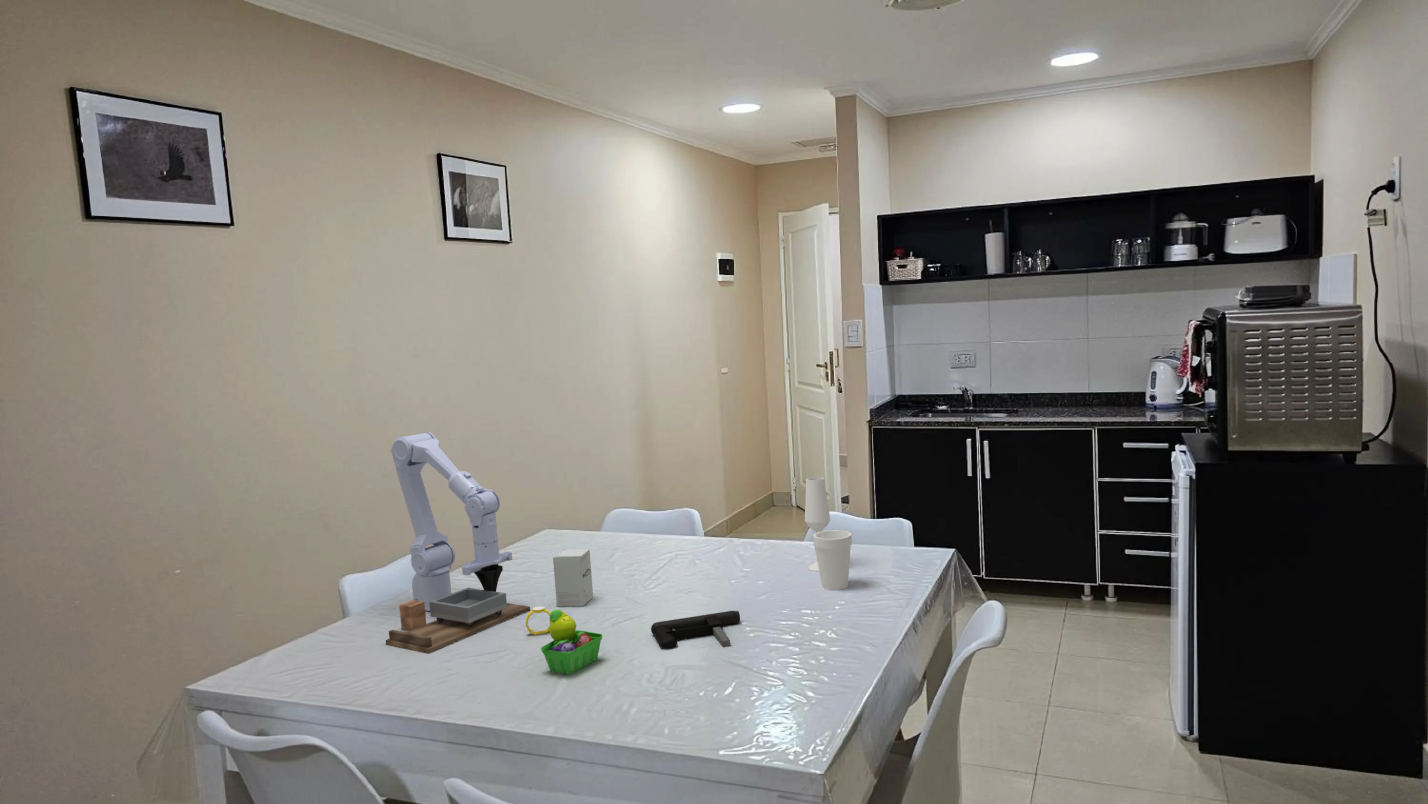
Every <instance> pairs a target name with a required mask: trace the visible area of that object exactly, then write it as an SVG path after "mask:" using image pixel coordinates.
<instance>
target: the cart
mask: <svg viewBox="0 0 1428 804" xmlns="http://www.w3.org/2000/svg"><path fill="white" fill-rule="evenodd" d="M507 600H508V599H507V593H506V592H499V591H496V592H494V591H487V590H484V589H479V588H473V587H465V588H463V589H461V590H458V591H456V592H455V591H454V592H451V594H449V595H447V596H444V597H441V598H439V599H436V600H433V601H430V602H429V605H430V611H429V612H430V613H429V614H430V615H429V616H430V617H431V618H436V620H437V621H439V622H442V621H443V620H444V619H448V620H454V621H459V622H465V623H466V626H467V627H472V626H473V621H476V620H478V619H480V618H483V617H485V616H488V615H490V614H493V613H495V614H496V615H501V613H502V609H505V608H507V603H508V602H507Z"/></svg>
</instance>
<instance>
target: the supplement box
mask: <svg viewBox="0 0 1428 804" xmlns="http://www.w3.org/2000/svg"><path fill="white" fill-rule="evenodd" d="M590 552H591V551H590V548H580V549H579V548H578V549H577V548H574V549H563V550H561V551H560V552H557V554H555V555H554V556H553V557H552V560H553V561H552V562H553V563H552V564H553V573H554V574H553V575H554V586H555V587H554V588H555V600H556V601H555V602H556V606H557V607H584V606H585V605H587V603H588V602H589V601H591V600H592V599H593V598H594V590H593V577H592V575H593V574H592V564H591V563H592V562H591V553H590Z"/></svg>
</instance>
